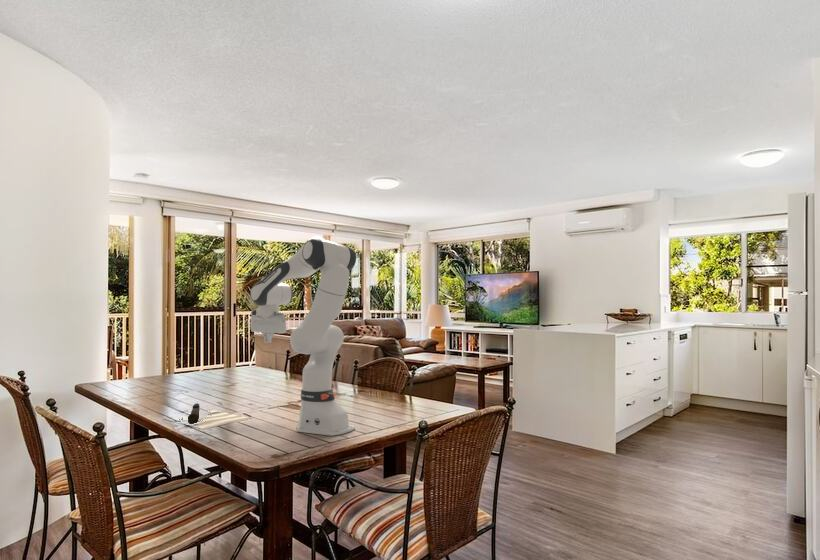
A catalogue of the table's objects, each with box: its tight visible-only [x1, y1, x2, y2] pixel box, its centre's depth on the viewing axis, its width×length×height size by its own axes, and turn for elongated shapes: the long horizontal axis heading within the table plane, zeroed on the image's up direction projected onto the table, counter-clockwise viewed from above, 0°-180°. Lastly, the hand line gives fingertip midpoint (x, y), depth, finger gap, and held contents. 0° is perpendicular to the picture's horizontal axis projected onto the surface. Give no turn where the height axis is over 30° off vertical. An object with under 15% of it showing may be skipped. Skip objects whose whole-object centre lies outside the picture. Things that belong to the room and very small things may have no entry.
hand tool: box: [188, 402, 201, 424], centre depth 199 cm, size 19×4×5 cm, turn 17°
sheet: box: [179, 409, 252, 430], centre depth 199 cm, size 28×22×1 cm
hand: (267, 342), depth 222 cm, fingers closed
